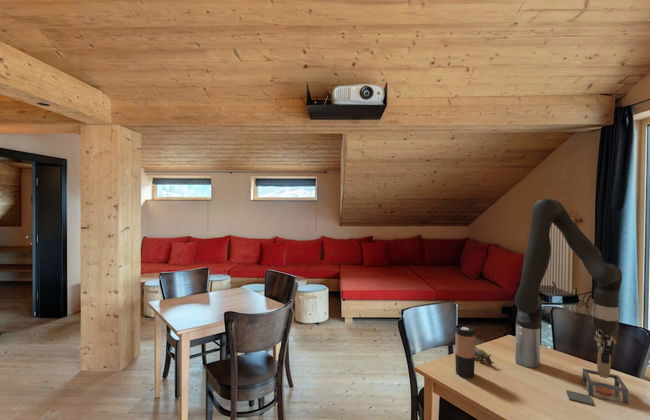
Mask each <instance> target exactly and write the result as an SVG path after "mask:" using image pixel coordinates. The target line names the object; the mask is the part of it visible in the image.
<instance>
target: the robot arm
mask: <svg viewBox="0 0 650 420" xmlns="http://www.w3.org/2000/svg"><path fill="white" fill-rule="evenodd" d="M530 223H531V225H530V230H529V235H528V241H527V245H526V248H525V253H524V256H523V257H524V258H523V263H522V270H521V271H522V272H521V278H520V283H519V286H518V287H517V288H518V289H517V292H516V294H515V296H514V305H515V306H516V307H517V308H516V309H517V313H516V316H515V317H516V318H515V353H514V354H515V363H516V364H518V365H521V366H523V367H525V368H530V369H533V368H534V369H536V368H539V367H540V363H541V360H540V359H541V351H540V350H541V321H542V306H543V305H542V303H543V302H542V298H541V296H540V294H539V293H540V288H541V283H542V282H543V280H544V277H545V275H546V272H547V271H548V267H549V263H550V259H551V255H552V245H551V243H552V242H551V237H550V231H551V227H552V224H553V225H554V226H555V227H556V228H557V229H558V230H559V232H560V233H561V235H562V236H563V238H564V240H565V241H566V244H567V245H568V247H569V248H570V249H571V251H572V252H573V253H574V254H575V255H576V256H577V257H578V258H579V260H580V261H581V262H582V264H583V266H584V267H585V269H586V271H587V273H589V275H590V276H591V278H593V280H595V281H596V282H597V287H596V288H595V289H594V290H593V291H594V292H593V301H592V302H593V303H592V309H591V312H592V313H591V326H592V327H593V328H594V329H595V336H596V335H597V336H598V338H599V339H602V341H603V342H604V344H602V343H599V342H597V341H596V340H595V343H596V346H597V351H598V350H599V345H600V346H601V362H602V363H606V364H609V354H610V355H611V356H612V355H613V351H614V345H615V344H614V342H613V341H612V340H613V338H614V337H613V335H612V333H616V332H618V331H619V317H620V316H619V292H620V288H621V284H622V279H623V273H622V271H621V269H620V268H619V267H618V266H617V265H616V264H614V263H613V264H612V263H606V262H605V261H604V259H603V257H602V252H601V251H600V249H598V248H597V247H596V245H595V244H594V243H593V242H592V241H591V240H590V239H589V238H588V237H587V236H586V235H585V233H584V232H583V231H582V230H581V229H580V228H579V226H578V225H577V224H576V223H575V221H574V220H573V218H571V216H570V215H569V213H568V212H567V210H566V208H565V207H564V205H563V204H562V203H561V202H560V201H559V200H556V199H552V198H541V199H539V200H537V201H536V202H534V205H533V207H532V213H531V222H530ZM606 349H608V351H607V350H606Z"/></svg>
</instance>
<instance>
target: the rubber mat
mask: <svg viewBox="0 0 650 420" xmlns="http://www.w3.org/2000/svg"><path fill="white" fill-rule="evenodd" d="M566 394H567V397H568V400H569V401H571V402H576V403H580V404H584V405H589V406H595V404H594V401H593V399H592V396H590V395H589V394H584V393H582V392H581V393H580V392H578V391H577V392H576V391H573V390H568V389H566Z"/></svg>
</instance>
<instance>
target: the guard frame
mask: <svg viewBox="0 0 650 420" xmlns="http://www.w3.org/2000/svg"><path fill="white" fill-rule="evenodd" d="M589 374H592V375H597V376H599V375H598V370H593V369H588V368H582V377H581V379H582V383H583V385H584V388H585V390H586V392H587V395H590V397H593V398H598V399H603V400H607V401H610V402H611V401H612V402H616V403H619V404H623V405H629V389H628V387H627V386H626V384H625V383H624V381H623V380H622V378H621V376H619V375H618V374H613V373H609V378H611V379H614V380H613V383H614V384H613V385H612V384H607V383H602V382H599V381H598V382H597V381H593V380H592V378H591V377H590V375H589ZM595 386H599V387H604V388H608V389H613V394H611V395H608V394H604V393H601V392H599V391H597V390H596V389H595Z"/></svg>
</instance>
